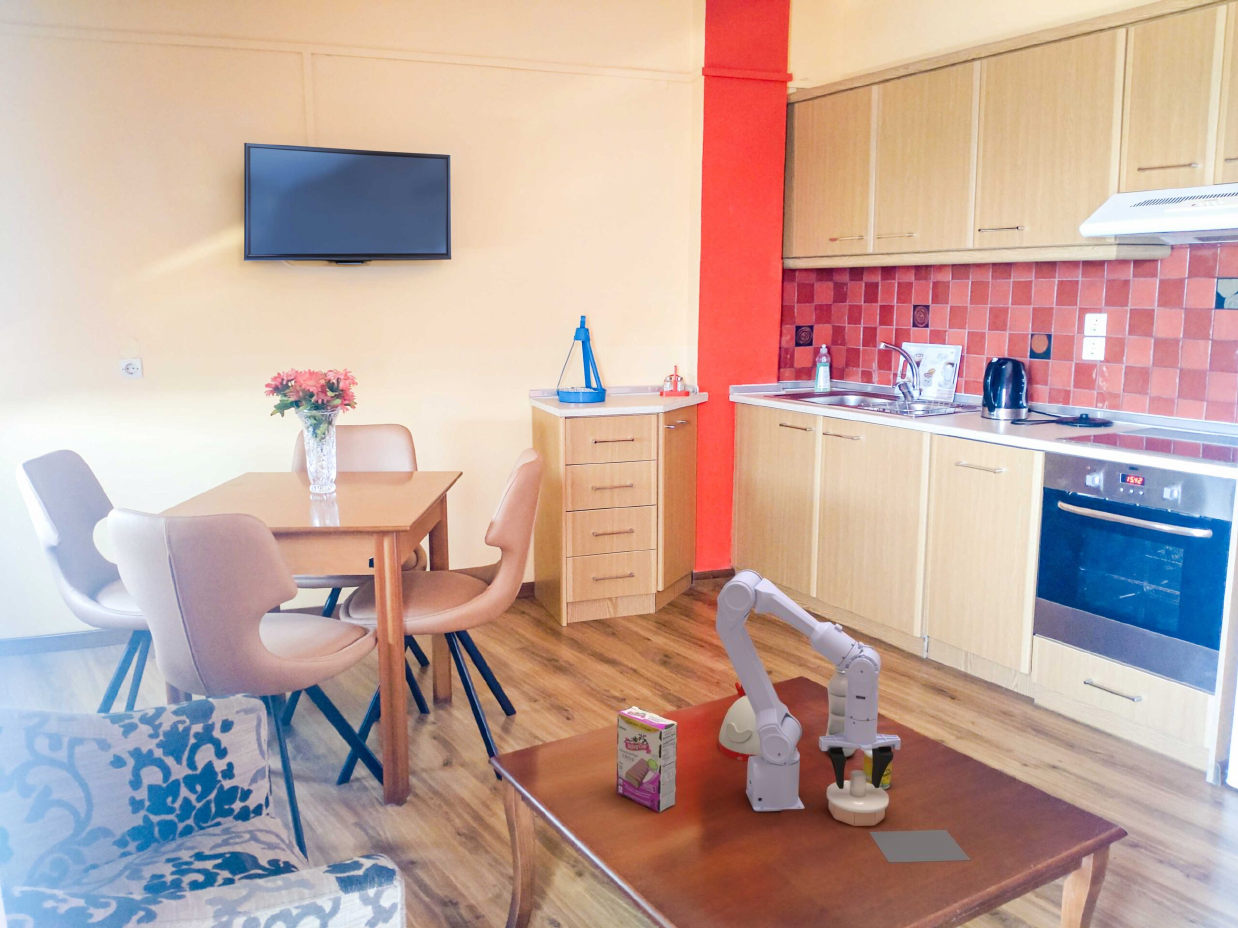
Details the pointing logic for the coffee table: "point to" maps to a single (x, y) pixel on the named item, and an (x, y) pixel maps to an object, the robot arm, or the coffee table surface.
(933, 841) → the mat
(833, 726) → the plastic bottle
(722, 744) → the white and red dome
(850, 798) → the lid
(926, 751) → the coffee table surface
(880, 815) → the bowl
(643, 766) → the candy bar box
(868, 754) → the supplement bottle
